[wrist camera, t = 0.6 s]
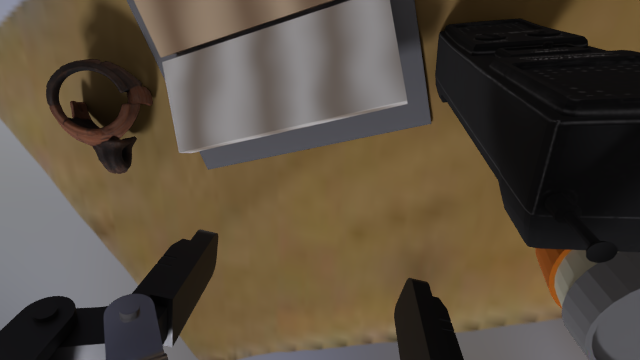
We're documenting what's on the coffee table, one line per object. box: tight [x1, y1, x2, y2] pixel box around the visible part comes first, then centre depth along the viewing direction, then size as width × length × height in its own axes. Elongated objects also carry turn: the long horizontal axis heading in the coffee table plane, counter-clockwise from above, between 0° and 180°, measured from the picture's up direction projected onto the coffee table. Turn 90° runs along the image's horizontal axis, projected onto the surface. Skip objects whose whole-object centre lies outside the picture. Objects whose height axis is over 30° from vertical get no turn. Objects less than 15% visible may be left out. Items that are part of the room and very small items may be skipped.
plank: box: [162, 0, 407, 153], centre depth 29 cm, size 22×9×2 cm
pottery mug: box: [46, 59, 153, 174], centre depth 35 cm, size 12×10×8 cm
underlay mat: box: [127, 0, 431, 169], centre depth 31 cm, size 26×22×1 cm
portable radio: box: [435, 19, 640, 263], centre depth 18 cm, size 8×6×25 cm
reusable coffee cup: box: [536, 248, 640, 360], centre depth 28 cm, size 13×13×15 cm
